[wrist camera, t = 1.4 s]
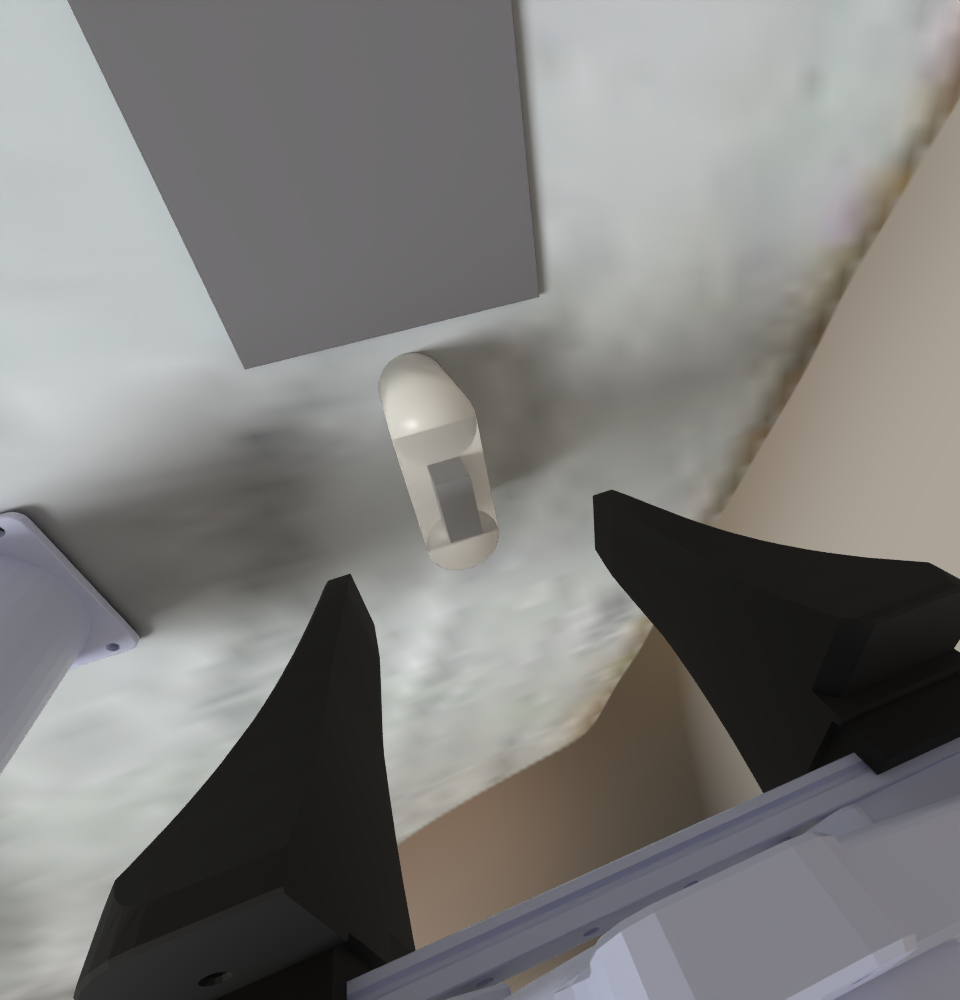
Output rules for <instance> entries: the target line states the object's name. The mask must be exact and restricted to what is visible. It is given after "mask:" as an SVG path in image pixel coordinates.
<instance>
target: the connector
mask: <svg viewBox="0 0 960 1000" xmlns="http://www.w3.org/2000/svg"><path fill="white" fill-rule="evenodd" d="M379 394H380V398H381V402H382V405H383V409H384V413H385V417H386V420H387V424H388V428H389V432H390V435H391V439H392V442H393V445H394V449H395V452H396V455H397V458H398V461H399V464H400V467H401V470H402V473H403V477H404V480H405V483H406V486H407V489H408V492H409V495H410V498H411V501H412V504H413V508H414V511H415V514H416V517H417V520H418V523H419V526H420V529H421V532H422V536H423V539H424V542H425V545H426V548H427V551H428V554H429V556H430V558H431V559H432V560H433V561H434V562H435V563H436V564H437V565H439V566H440V567H443V568H445V569H449V570H465V569H469V568H472V567H474V566H477V565H478V564H480V563H482V562H483V561H484V560H486V559H487V558H488V557H489V556H490V555H491V554H492V552H493V551H494V549H495V547H496V545H497V542H498V538H499V531H498V525H497V520H496V515H495V510H494V505H493V500H492V495H491V489H490V484H489V479H488V474H487V469H486V464H485V459H484V454H483V449H482V444H481V439H480V434H479V428H478V423H477V418H476V414H475V410H474V408H473V406H472V404H471V402H470V401H469V400H468V398H467V397H466V396H465V395H464V394H463V392H462V391H461V390H460V389H459V388H458V387H457V385H456V384H455V383H454V382H453V381H452V380H451V378H450V377H449V376H448V375H447V374H446V373H445V371H444V370H443V369H442V368H441V367H440V366H439V364H438V363H437V362H436V361H434V360H433V359H432V358H430V357H428V356H426V355H423V354H419V353H407V354H403V355H400V356H398V357H396V358H394V359H393V360H391V361H390V362H389V363H388V364H387V365H386V367H385V368H384V370H383V372H382V374H381V376H380V380H379Z"/></svg>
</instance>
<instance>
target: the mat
mask: <svg viewBox="0 0 960 1000" xmlns="http://www.w3.org/2000/svg"><path fill="white" fill-rule="evenodd" d="M68 2H69V4H70V7H71V9H72V11H73V13H74V15H75V17H76V19H77V21H78V23H79V25H80V27H81V29H82V31H83V34H84V36H85V38H86V40H87V42H88V44H89V46H90V48H91V50H92V52H93V54H94V56H95V59H96V61H97V63H98V65H99V67H100V69H101V71H102V73H103V75H104V77H105V79H106V81H107V83H108V86H109V88H110V90H111V92H112V94H113V96H114V98H115V100H116V102H117V104H118V106H119V108H120V111H121V113H122V115H123V117H124V119H125V121H126V123H127V125H128V127H129V129H130V131H131V133H132V135H133V138H134V140H135V142H136V144H137V146H138V148H139V150H140V152H141V154H142V156H143V158H144V160H145V163H146V165H147V167H148V169H149V171H150V173H151V175H152V177H153V179H154V181H155V183H156V185H157V188H158V190H159V192H160V194H161V196H162V198H163V200H164V202H165V204H166V206H167V208H168V210H169V212H170V215H171V217H172V219H173V221H174V223H175V225H176V227H177V229H178V231H179V233H180V235H181V237H182V240H183V242H184V244H185V246H186V248H187V250H188V252H189V254H190V256H191V258H192V260H193V262H194V264H195V267H196V269H197V271H198V273H199V275H200V277H201V279H202V281H203V283H204V285H205V287H206V289H207V292H208V294H209V296H210V298H211V300H212V302H213V304H214V306H215V308H216V310H217V312H218V314H219V316H220V319H221V321H222V323H223V325H224V327H225V329H226V331H227V333H228V335H229V337H230V339H231V341H232V344H233V346H234V348H235V350H236V352H237V354H238V356H239V358H240V360H241V362H242V364H243V366H244V369H248V368H252V367H257V366H261V365H265V364H269V363H273V362H277V361H281V360H285V359H289V358H293V357H297V356H301V355H305V354H309V353H313V352H317V351H321V350H325V349H329V348H334V347H338V346H342V345H346V344H350V343H354V342H358V341H362V340H366V339H370V338H374V337H378V336H382V335H386V334H390V333H394V332H398V331H402V330H406V329H411V328H415V327H419V326H423V325H427V324H431V323H435V322H439V321H443V320H447V319H451V318H455V317H459V316H463V315H467V314H471V313H475V312H479V311H483V310H488V309H492V308H496V307H500V306H504V305H508V304H512V303H516V302H520V301H524V300H528V299H532V298H536V297H539V288H538V278H537V267H536V257H535V246H534V236H533V225H532V215H531V204H530V194H529V183H528V173H527V162H526V152H525V141H524V131H523V120H522V110H521V99H520V89H519V78H518V68H517V57H516V47H515V36H514V26H513V15H512V5H511V0H68Z"/></svg>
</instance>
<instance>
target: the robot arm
mask: <svg viewBox="0 0 960 1000" xmlns="http://www.w3.org/2000/svg"><path fill="white" fill-rule="evenodd" d="M593 509H594V532H595V550H596V551H597V553H598V554H599V556H600V558H601V559H602V561H603V563H604V564H605V566H606V567H607V569H608V570H609V572H610V573H611V575H612V576H613V577H614V579H615V580H616V581H617V582H618V583H619V585H620V586H621V587H622V588H623V589H624V591H625V592H626V593H627V594H628V595H629V596H630V598H631V599H632V600H633V601H634V602H635V603H636V605H637V606H638V607H639V608H640V609H641V610H642V612H643V613H644V614H645V615H646V616H647V617H648V619H649V620H650V621H651V622H652V623H653V624H654V626H655V627H656V628H657V629H658V630H659V631H660V633H661V634H662V635H663V636H664V637H665V639H666V640H667V641H668V643H669V644H670V645H671V647H672V648H673V650H674V651H675V652H676V654H677V655H678V657H679V658H680V660H681V661H682V663H683V664H684V665H685V667H686V668H687V670H688V671H689V673H690V674H691V676H692V677H693V679H694V680H695V682H696V683H697V684H698V686H699V688H700V689H701V691H702V692H703V694H704V695H705V697H706V698H707V700H708V701H709V703H710V704H711V706H712V708H713V709H714V711H715V712H716V714H717V716H718V717H719V719H720V721H721V722H722V724H723V725H724V727H725V728H726V730H727V731H728V733H729V735H730V737H731V738H732V740H733V742H734V743H735V745H736V746H737V748H738V750H739V752H740V753H741V755H742V757H743V759H744V760H745V762H746V764H747V765H748V767H749V769H750V771H751V772H752V774H753V776H754V778H755V779H756V781H757V783H758V784H759V786H760V788H761V790H762V792H763V794H761V795H759V796H757V797H754V798H752V799H750V800H748V801H746V802H743V803H741V804H739V805H737V806H734V807H733V808H730V809H728V810H726V811H723V812H721V813H719V814H717V815H715V816H712V817H710V818H708V819H706V820H703V821H701V822H699V823H697V824H695V825H692V826H690V827H688V828H686V829H684V830H681V831H679V832H677V833H675V834H673V835H670V836H668V837H666V838H664V839H662V840H659V841H657V842H655V843H653V844H650V845H648V846H646V847H644V848H642V849H639V850H637V851H635V852H633V853H631V854H628V855H626V856H624V857H622V858H620V859H617V860H615V861H613V862H611V863H609V864H606V865H604V866H602V867H600V868H597V869H595V870H593V871H591V872H589V873H586V874H584V875H582V876H580V877H577V878H575V879H573V880H571V881H569V882H566V883H564V884H562V885H560V886H558V887H555V888H553V889H551V890H549V891H547V892H544V893H542V894H540V895H538V896H535V897H533V898H531V899H529V900H527V901H525V902H522V903H520V904H518V905H516V906H513V907H511V908H509V909H507V910H504V911H502V912H500V913H498V914H496V915H494V916H491V917H489V918H487V919H485V920H482V921H480V922H478V923H476V924H474V925H471V926H469V927H467V928H465V929H463V930H460V931H458V932H456V933H454V934H451V935H449V936H447V937H445V938H443V939H440V940H438V941H436V942H434V943H432V944H429V945H427V946H425V947H423V948H421V949H418V950H416V951H415V946H414V941H413V935H412V930H411V924H410V918H409V913H408V907H407V902H406V896H405V890H404V885H403V879H402V873H401V866H400V861H399V854H398V849H397V842H396V836H395V829H394V822H393V816H392V809H391V802H390V796H389V788H388V781H387V773H386V766H385V759H384V748H383V733H382V705H381V677H380V657H379V650H378V644H377V638H376V632H375V626H374V623H373V621H372V619H371V617H370V614H369V612H368V610H367V608H366V606H365V604H364V602H363V600H362V597H361V595H360V593H359V591H358V589H357V587H356V585H355V582H354V580H353V578H352V576H351V574H348V575H345V576H342V577H339V578H335V579H332V580H329V581H328V582H327V584H326V585H325V588H324V590H323V592H322V594H321V597H320V599H319V601H318V604H317V606H316V608H315V610H314V613H313V615H312V617H311V619H310V621H309V624H308V626H307V628H306V630H305V632H304V634H303V636H302V638H301V640H300V642H299V644H298V646H297V648H296V650H295V652H294V654H293V656H292V657H291V659H290V661H289V663H288V665H287V666H286V668H285V670H284V672H283V674H282V676H281V677H280V679H279V681H278V683H277V684H276V686H275V688H274V689H273V691H272V692H271V694H270V696H269V697H268V699H267V700H266V702H265V704H264V705H263V707H262V708H261V710H260V711H259V713H258V714H257V716H256V717H255V719H254V720H253V722H252V723H251V724H250V726H249V727H248V728H247V730H246V731H245V732H244V734H243V735H242V736H241V738H240V739H239V740H238V742H237V743H236V744H235V746H234V747H233V748H232V750H231V751H230V752H229V754H228V755H227V756H226V758H225V759H224V760H223V762H222V763H221V764H220V765H219V767H218V768H217V769H216V770H215V772H214V773H213V774H212V775H211V776H210V778H209V779H208V780H207V781H206V782H205V784H204V785H203V786H202V787H201V788H200V790H199V791H198V792H197V793H196V794H195V795H194V796H193V798H192V799H191V800H190V801H189V802H188V803H187V805H186V806H185V807H184V808H183V809H182V810H181V811H180V813H179V814H178V815H177V816H176V817H175V818H174V819H173V820H172V821H171V823H170V824H169V825H168V826H167V827H166V828H165V829H164V830H163V831H162V832H161V833H160V834H159V835H158V836H157V837H156V838H155V840H154V841H153V842H152V843H151V844H150V845H149V846H148V847H147V848H146V849H145V850H144V851H143V852H142V853H141V854H140V855H139V856H138V857H137V858H136V860H135V861H134V862H133V863H132V864H131V865H130V866H129V867H128V868H127V869H126V870H125V871H124V872H123V873H122V874H121V875H120V876H119V877H118V878H117V879H116V880H115V882H114V884H113V887H112V889H111V892H110V894H109V897H108V899H107V902H106V904H105V907H104V910H103V912H102V915H101V918H100V921H99V923H98V926H97V929H96V932H95V935H94V938H93V940H92V943H91V946H90V949H89V952H88V955H87V957H86V960H85V963H84V966H83V969H82V971H81V974H80V977H79V980H78V983H77V986H76V989H75V993H74V997H73V998H74V1000H960V652H958V651H956V650H955V649H954V647H955V646H956V644H957V643H958V641H959V640H960V579H959V578H957V577H955V576H953V575H951V574H949V573H948V572H945V571H944V570H942V569H940V568H938V567H937V566H934V565H933V564H931V563H928V562H915V561H902V560H890V559H877V558H866V557H857V556H849V555H841V554H833V553H826V552H820V551H813V550H807V549H801V548H796V547H791V546H786V545H780V544H776V543H771V542H766V541H762V540H758V539H753V538H750V537H746V536H742V535H738V534H734V533H731V532H727V531H724V530H720V529H717V528H714V527H711V526H708V525H705V524H702V523H699V522H696V521H693V520H690V519H687V518H684V517H682V516H679V515H676V514H674V513H671V512H668V511H666V510H663V509H661V508H658V507H656V506H653V505H651V504H648V503H646V502H643V501H641V500H638V499H636V498H633V497H631V496H628V495H625V494H623V493H620V492H617V491H614V490H609V491H606V492H603V493H600V494H597V495H594V496H593ZM0 527H1V528H2V529H4V531H5V532H3V531H0V775H1V773H2V771H3V770H4V768H5V767H6V765H7V764H8V762H9V761H10V759H11V758H12V756H13V755H14V753H15V751H16V750H17V748H18V747H19V745H20V744H21V742H22V741H23V739H24V738H25V736H26V735H27V733H28V731H29V730H30V728H31V727H32V725H33V724H34V722H35V721H36V719H37V718H38V716H39V715H40V713H41V711H42V710H43V708H44V707H45V705H46V704H47V702H48V701H49V699H50V698H51V696H52V695H53V693H54V691H55V690H56V688H57V687H58V685H59V684H60V682H61V681H62V679H63V678H64V676H65V674H66V673H67V671H68V670H69V669H72V668H75V667H78V666H81V665H84V664H88V663H91V662H94V661H97V660H100V659H103V658H106V657H109V656H112V655H116V654H119V653H122V652H125V651H128V650H131V649H133V648H135V647H136V645H137V644H138V642H139V636H138V634H137V633H136V632H135V631H134V630H133V629H132V628H131V627H130V626H129V625H128V624H127V622H126V621H125V620H124V619H123V618H122V617H121V616H120V615H119V614H118V613H117V612H116V611H115V610H114V609H113V607H112V606H111V605H110V604H109V603H108V602H107V601H106V600H105V599H104V598H103V597H102V596H101V595H100V594H99V592H98V591H97V590H96V589H95V588H94V587H93V586H92V585H91V584H90V583H89V582H88V581H87V580H86V579H85V578H84V576H83V575H82V574H81V573H80V572H79V571H78V570H77V569H76V568H75V567H74V566H73V565H72V564H71V563H70V561H69V560H68V559H67V558H66V557H65V556H64V555H63V554H62V553H61V552H60V551H59V550H58V549H57V548H56V546H55V545H54V544H53V543H52V542H51V541H50V540H49V539H48V538H47V537H46V536H45V535H44V534H43V533H42V531H41V530H40V529H39V528H38V527H37V526H36V525H35V524H34V523H33V522H32V521H31V520H30V519H29V518H28V517H27V516H25V515H23V514H20V513H16V512H7V513H3V514H0ZM112 643H115V644H117V645H114V644H112ZM605 932H607V933H606V934H604V935H603V936H602V937H601V938H599V940H598V941H597V944H596V945H594V946H593V947H591V948H589V949H587V950H586V951H584V952H582V953H580V954H579V955H577V956H576V957H574V958H572V959H570V960H569V961H567V962H565V963H564V964H562V965H560V966H559V967H557V968H555V969H553V970H552V971H550V972H548V973H547V974H545V975H543V976H542V977H540V978H538V979H537V980H535V981H533V982H531V983H530V984H528V985H526V986H525V987H523V988H522V989H520V990H518V991H516V992H514V993H513V994H511V990H510V987H509V986H508V985H507V984H505V983H501V984H498V983H500V982H502V981H504V980H507V979H509V978H511V977H513V976H515V975H517V974H519V973H521V972H524V971H526V970H528V969H530V968H532V967H534V966H536V965H538V964H540V963H542V962H544V961H546V960H549V959H551V958H553V957H555V956H557V955H559V954H561V953H563V952H565V951H568V950H570V949H572V948H574V947H576V946H578V945H580V944H582V943H584V942H586V941H589V940H591V939H593V938H595V937H597V936H599V935H601V934H603V933H605ZM496 984H497V985H496Z"/></svg>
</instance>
